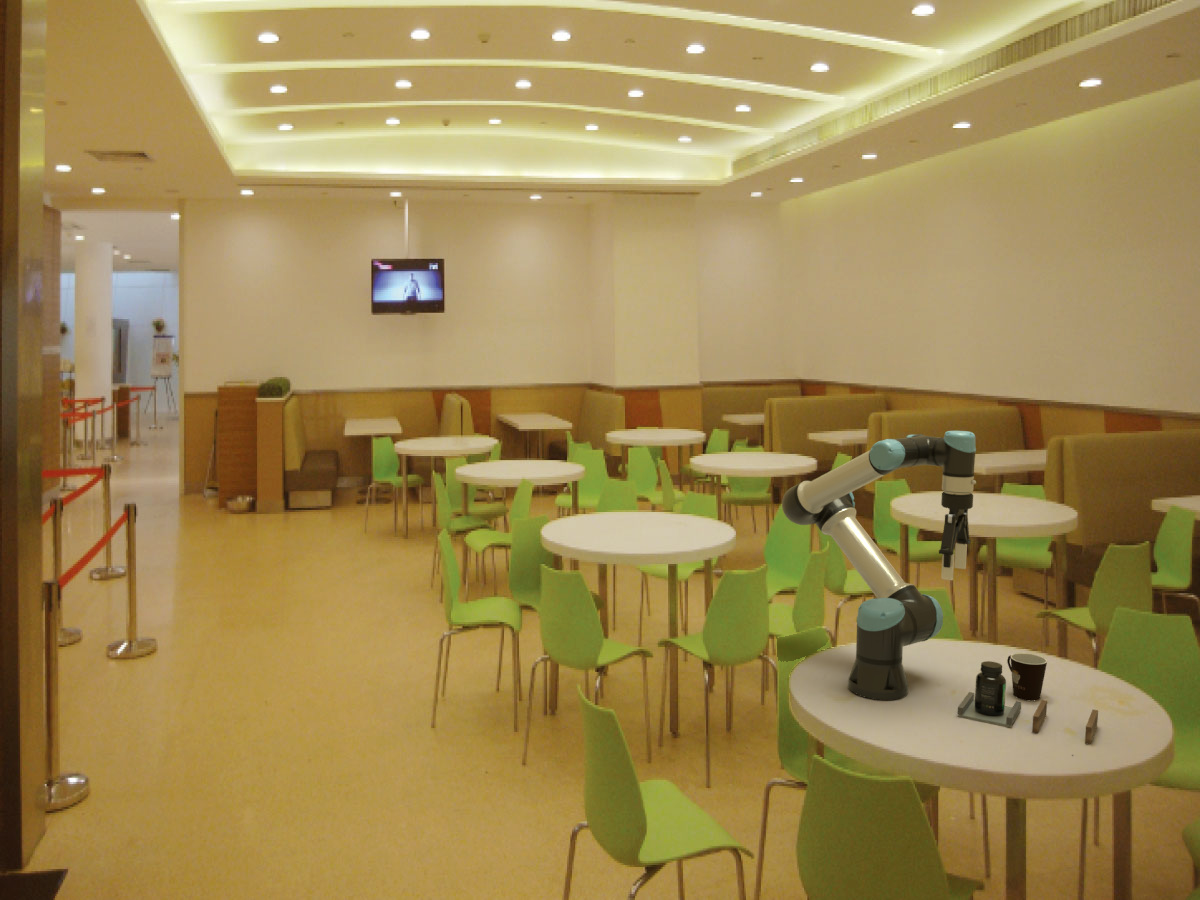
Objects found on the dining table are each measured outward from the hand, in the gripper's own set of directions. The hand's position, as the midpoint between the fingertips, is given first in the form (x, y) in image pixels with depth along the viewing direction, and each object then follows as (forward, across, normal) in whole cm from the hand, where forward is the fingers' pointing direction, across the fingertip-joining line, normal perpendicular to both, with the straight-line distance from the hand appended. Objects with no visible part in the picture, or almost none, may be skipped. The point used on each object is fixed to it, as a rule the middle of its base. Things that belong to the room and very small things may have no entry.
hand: (953, 573), depth 251 cm
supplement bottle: (+31, -9, -12) cm, 35 cm away
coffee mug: (+32, +10, -17) cm, 38 cm away
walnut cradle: (+32, -9, -29) cm, 44 cm away
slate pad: (+32, -9, -12) cm, 35 cm away
